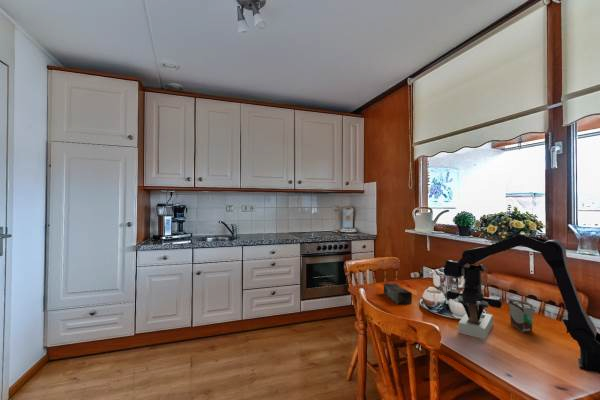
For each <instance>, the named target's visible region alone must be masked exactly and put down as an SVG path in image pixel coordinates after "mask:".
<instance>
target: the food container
mask: <svg viewBox="0 0 600 400" xmlns="http://www.w3.org/2000/svg"><path fill="white" fill-rule="evenodd" d="M508 306H509V307H508V308H509V319H510V320H509V322H510V324H511V325H512V326H514V327H515V328H516V329H517V330H519V331H520V332H521V333H523V334H528V333H529V334H531V333H532V331H533V319H534V314H536V309H535V307H534V305H533V304H531V303H529V302H526V301H522V300H520V299H508Z"/></svg>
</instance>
